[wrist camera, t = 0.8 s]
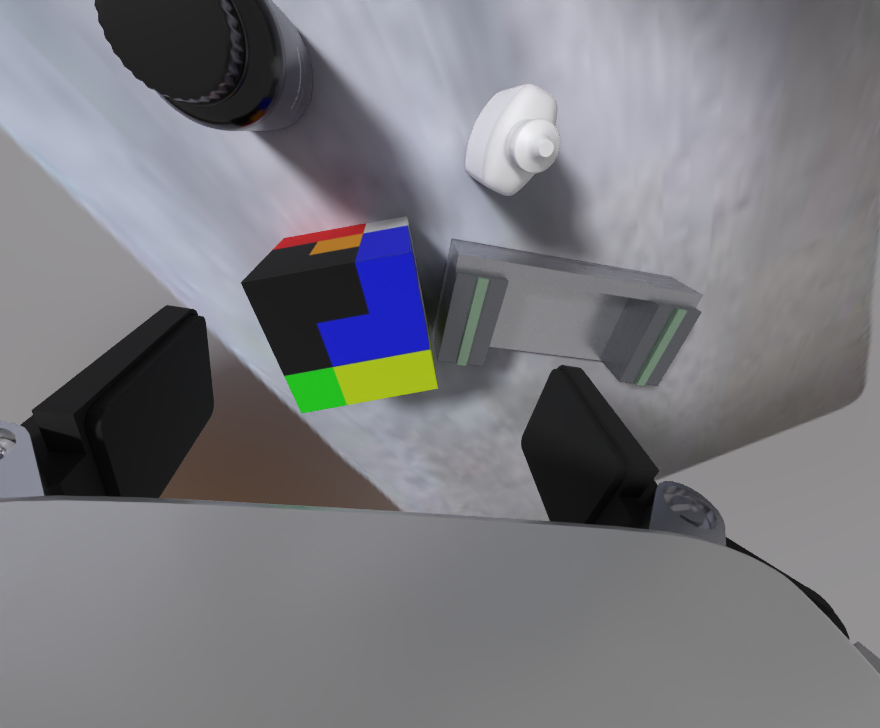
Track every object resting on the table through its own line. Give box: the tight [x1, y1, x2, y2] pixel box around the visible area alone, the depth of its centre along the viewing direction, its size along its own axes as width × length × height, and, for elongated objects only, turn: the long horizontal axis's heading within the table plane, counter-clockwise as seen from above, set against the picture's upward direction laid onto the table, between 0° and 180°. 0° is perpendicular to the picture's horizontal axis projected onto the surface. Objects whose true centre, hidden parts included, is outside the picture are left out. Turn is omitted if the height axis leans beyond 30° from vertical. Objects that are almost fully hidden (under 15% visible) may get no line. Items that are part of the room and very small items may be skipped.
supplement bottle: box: [95, 0, 313, 131], centre depth 19 cm, size 7×7×12 cm
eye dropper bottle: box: [465, 84, 561, 196], centre depth 23 cm, size 4×6×12 cm
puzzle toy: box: [241, 216, 438, 413], centre depth 29 cm, size 10×10×10 cm
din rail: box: [432, 239, 703, 386], centre depth 33 cm, size 9×21×6 cm, turn 79°
